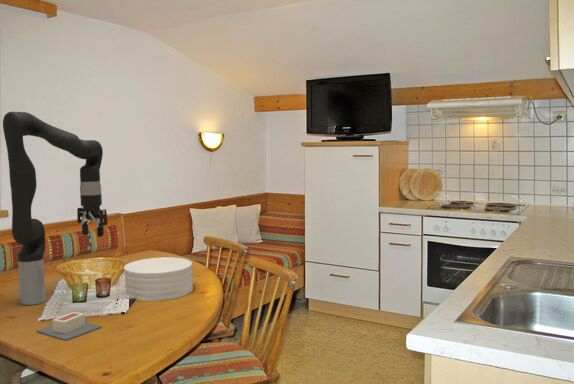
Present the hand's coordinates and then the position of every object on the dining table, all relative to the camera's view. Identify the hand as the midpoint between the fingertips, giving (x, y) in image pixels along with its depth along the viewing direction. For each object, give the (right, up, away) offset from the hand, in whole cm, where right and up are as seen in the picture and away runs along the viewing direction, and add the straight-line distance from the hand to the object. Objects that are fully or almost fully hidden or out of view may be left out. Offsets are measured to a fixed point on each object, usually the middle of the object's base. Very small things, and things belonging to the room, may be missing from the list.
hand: (92, 235), depth 204 cm
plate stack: (+19, -26, +25) cm, 41 cm away
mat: (0, -30, -21) cm, 37 cm away
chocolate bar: (+9, -29, +3) cm, 30 cm away
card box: (0, -30, -21) cm, 37 cm away
